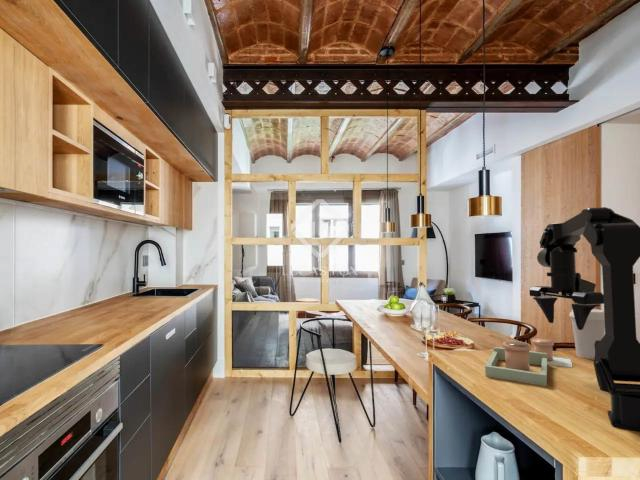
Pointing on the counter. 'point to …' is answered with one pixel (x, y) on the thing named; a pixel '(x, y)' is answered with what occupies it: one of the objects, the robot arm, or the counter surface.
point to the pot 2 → (544, 347)
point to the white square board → (560, 362)
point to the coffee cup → (588, 333)
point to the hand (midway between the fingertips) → (565, 326)
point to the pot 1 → (517, 355)
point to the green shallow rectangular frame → (515, 374)
